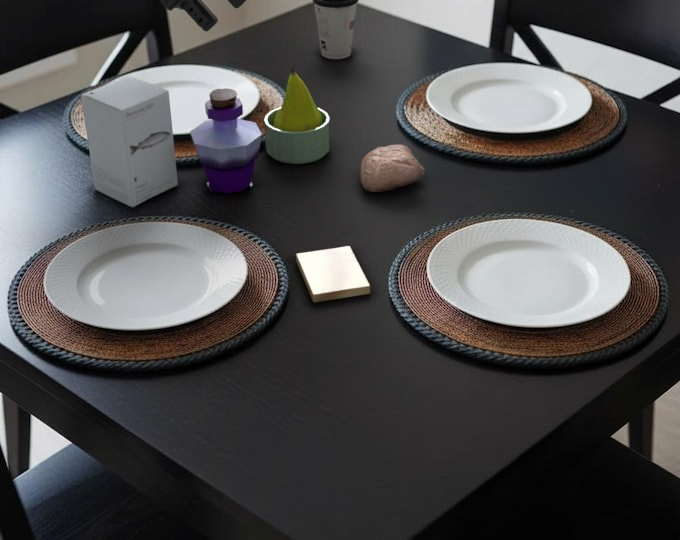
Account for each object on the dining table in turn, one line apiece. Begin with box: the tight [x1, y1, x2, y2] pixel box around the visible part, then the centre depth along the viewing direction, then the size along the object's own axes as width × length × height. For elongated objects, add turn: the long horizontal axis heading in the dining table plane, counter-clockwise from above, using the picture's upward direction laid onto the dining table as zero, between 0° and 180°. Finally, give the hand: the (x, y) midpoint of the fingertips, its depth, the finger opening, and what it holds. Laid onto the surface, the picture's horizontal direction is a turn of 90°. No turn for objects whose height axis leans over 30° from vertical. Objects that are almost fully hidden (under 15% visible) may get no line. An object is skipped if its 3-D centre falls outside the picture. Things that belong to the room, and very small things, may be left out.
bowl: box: [263, 106, 331, 165], centre depth 133 cm, size 8×8×4 cm
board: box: [295, 245, 371, 303], centre depth 110 cm, size 6×8×1 cm
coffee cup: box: [312, 0, 359, 60], centre depth 159 cm, size 7×7×10 cm
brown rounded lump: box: [359, 143, 425, 193], centre depth 126 cm, size 8×6×8 cm
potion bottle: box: [189, 88, 263, 196], centre depth 124 cm, size 9×9×12 cm
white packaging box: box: [80, 75, 179, 208], centre depth 123 cm, size 7×7×13 cm
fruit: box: [273, 61, 323, 132], centre depth 131 cm, size 6×6×12 cm
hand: (228, 14), depth 128 cm, fingers open, 8 cm apart
